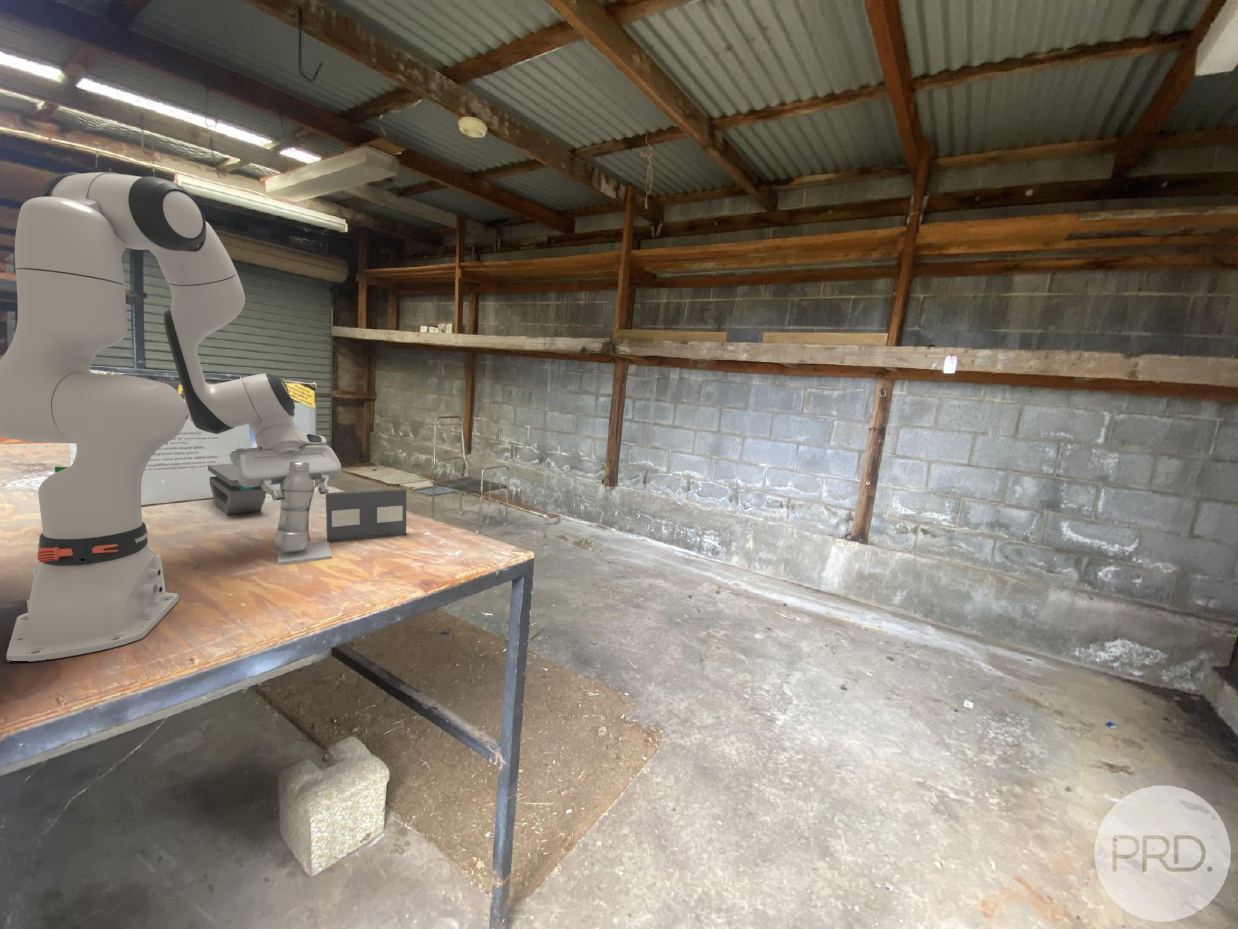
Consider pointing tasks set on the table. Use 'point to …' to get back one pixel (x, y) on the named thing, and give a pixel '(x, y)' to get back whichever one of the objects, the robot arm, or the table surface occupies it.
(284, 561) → the rubber pad
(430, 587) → the table surface
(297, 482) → the plastic bottle
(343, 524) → the panel
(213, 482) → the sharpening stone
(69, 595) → the robot arm
